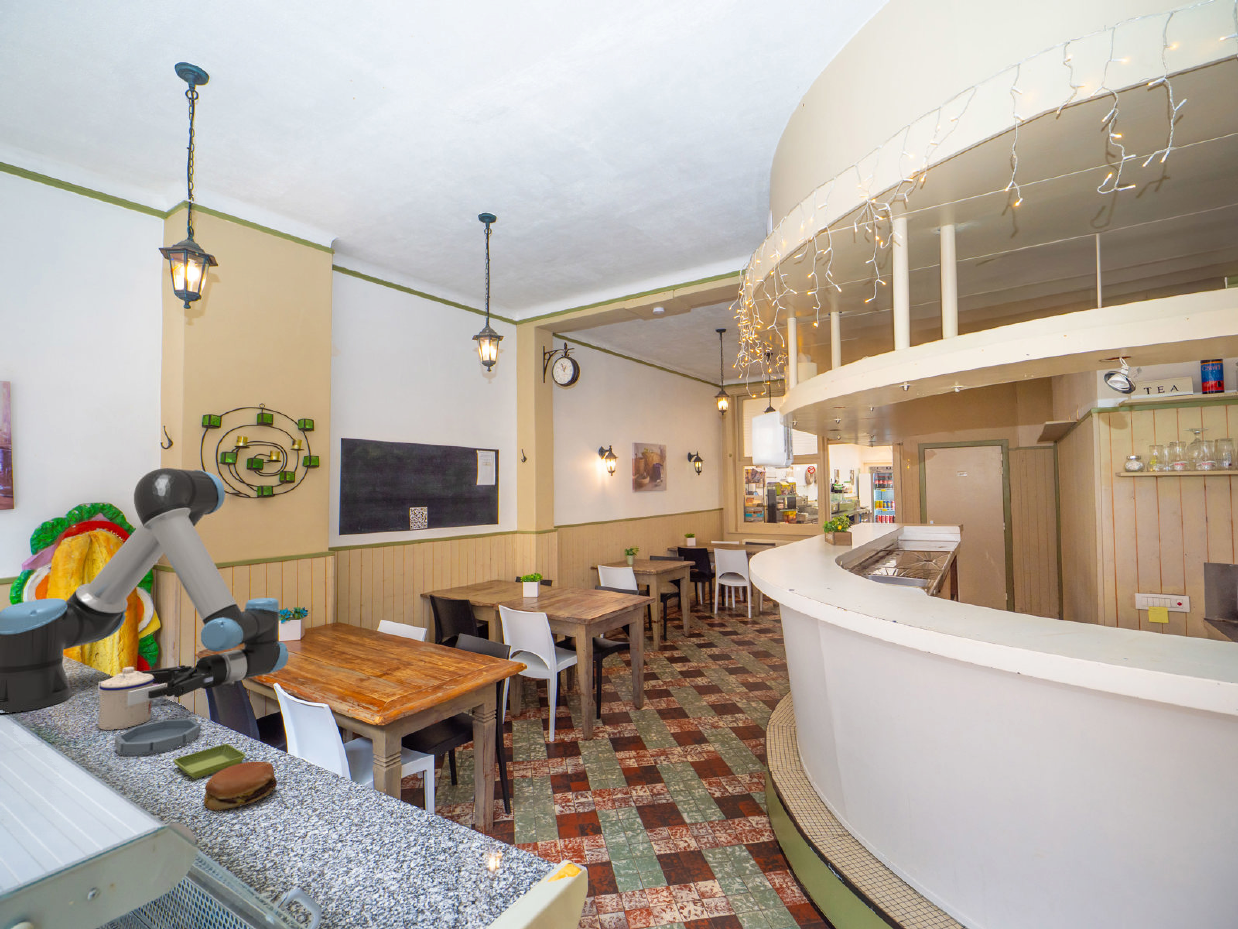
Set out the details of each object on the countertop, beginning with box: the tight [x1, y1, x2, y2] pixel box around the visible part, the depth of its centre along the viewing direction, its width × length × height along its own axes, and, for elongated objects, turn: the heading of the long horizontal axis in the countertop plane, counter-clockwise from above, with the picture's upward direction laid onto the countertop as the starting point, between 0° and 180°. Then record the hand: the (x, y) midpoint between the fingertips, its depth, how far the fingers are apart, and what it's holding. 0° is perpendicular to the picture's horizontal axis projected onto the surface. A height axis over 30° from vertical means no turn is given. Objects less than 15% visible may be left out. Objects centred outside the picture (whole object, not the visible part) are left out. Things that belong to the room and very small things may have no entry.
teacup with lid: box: [98, 666, 154, 731], centre depth 127 cm, size 12×9×12 cm
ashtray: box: [114, 718, 202, 757], centre depth 116 cm, size 13×13×2 cm
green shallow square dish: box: [172, 743, 247, 780], centre depth 105 cm, size 9×9×2 cm
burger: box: [203, 761, 278, 811], centre depth 94 cm, size 10×9×5 cm
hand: (112, 693), depth 125 cm, fingers open, 13 cm apart
